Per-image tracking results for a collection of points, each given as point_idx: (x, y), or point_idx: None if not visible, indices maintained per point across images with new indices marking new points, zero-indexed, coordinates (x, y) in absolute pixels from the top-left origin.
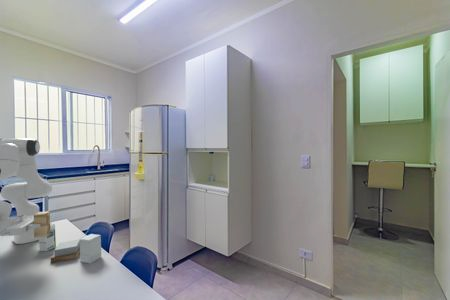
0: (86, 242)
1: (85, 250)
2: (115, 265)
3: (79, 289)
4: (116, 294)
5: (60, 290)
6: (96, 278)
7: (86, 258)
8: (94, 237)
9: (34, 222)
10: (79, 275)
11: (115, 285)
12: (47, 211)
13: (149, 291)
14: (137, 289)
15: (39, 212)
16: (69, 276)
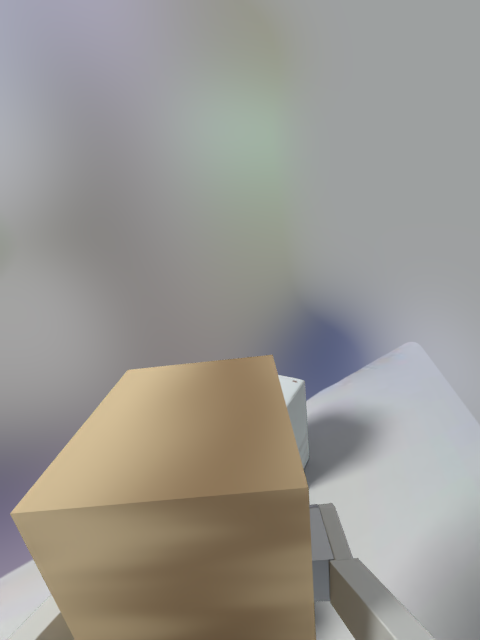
0: (299, 398)
1: (300, 431)
2: (323, 398)
3: (454, 430)
4: (435, 370)
5: None
6: (391, 414)
7: (303, 454)
8: (278, 376)
9: (312, 608)
10: (387, 459)
11: (407, 378)
12: (114, 387)
13: (408, 343)
14: (408, 353)
15: (73, 478)
16: (402, 489)
